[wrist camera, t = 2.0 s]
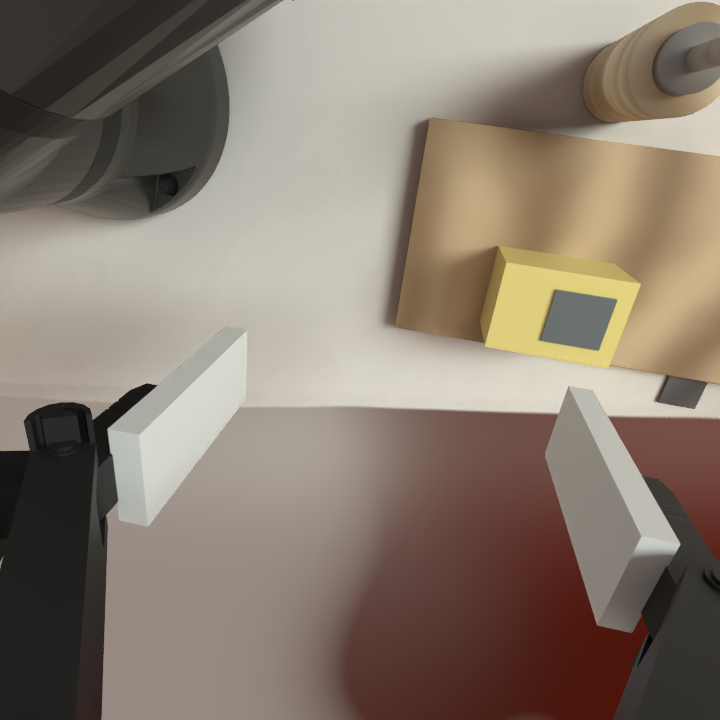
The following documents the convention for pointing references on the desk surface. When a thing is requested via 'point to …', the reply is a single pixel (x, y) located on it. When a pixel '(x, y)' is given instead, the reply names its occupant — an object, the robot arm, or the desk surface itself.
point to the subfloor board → (572, 237)
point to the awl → (658, 68)
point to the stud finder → (556, 306)
